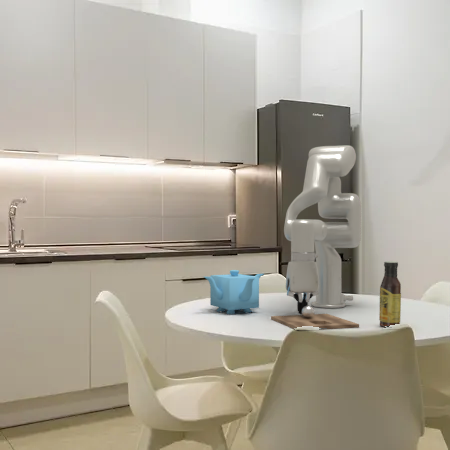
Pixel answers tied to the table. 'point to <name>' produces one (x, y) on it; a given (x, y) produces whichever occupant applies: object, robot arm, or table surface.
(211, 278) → the teakettle
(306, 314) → the steel ball
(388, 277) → the sauce bottle
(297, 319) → the walnut board
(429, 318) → the table surface
